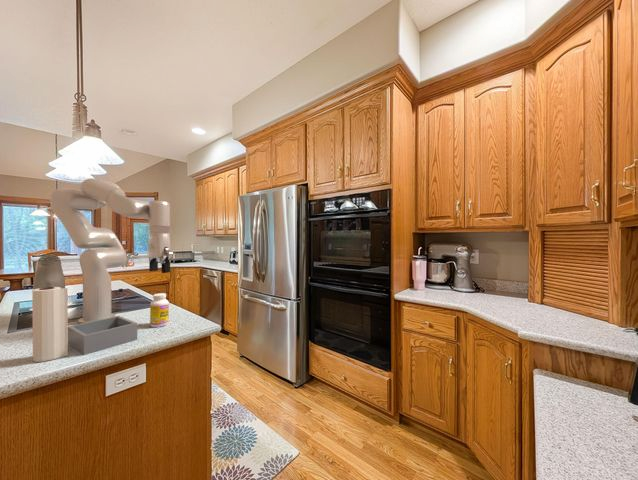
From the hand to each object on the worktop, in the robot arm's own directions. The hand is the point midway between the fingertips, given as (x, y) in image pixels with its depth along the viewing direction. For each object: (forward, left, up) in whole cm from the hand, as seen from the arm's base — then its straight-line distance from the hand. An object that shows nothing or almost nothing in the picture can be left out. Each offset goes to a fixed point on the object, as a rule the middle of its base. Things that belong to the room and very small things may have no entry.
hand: (159, 271), depth 111 cm
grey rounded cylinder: (-51, -22, -23) cm, 60 cm away
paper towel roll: (+3, -34, -23) cm, 41 cm away
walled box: (+2, -20, -22) cm, 30 cm away
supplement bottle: (0, 0, -23) cm, 23 cm away
